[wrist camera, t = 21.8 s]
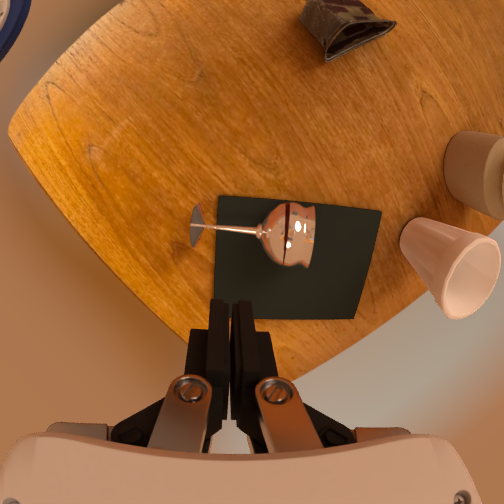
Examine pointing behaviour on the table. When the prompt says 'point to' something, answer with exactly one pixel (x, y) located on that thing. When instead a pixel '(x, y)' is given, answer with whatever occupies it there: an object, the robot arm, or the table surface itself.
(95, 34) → the table surface
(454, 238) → the cup
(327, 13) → the checkered cake slice
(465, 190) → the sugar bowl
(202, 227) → the wineglass
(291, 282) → the mat
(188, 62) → the table surface
